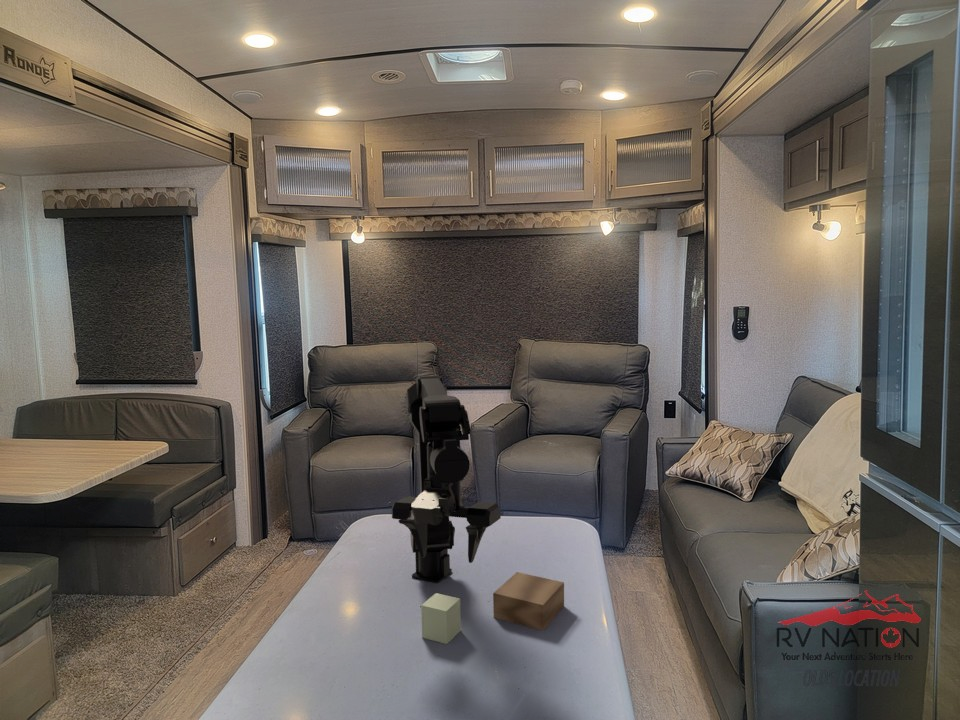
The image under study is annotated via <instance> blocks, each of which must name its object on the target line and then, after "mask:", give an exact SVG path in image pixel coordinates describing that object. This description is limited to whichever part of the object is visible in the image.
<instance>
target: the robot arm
mask: <svg viewBox="0 0 960 720" xmlns="http://www.w3.org/2000/svg"><path fill="white" fill-rule="evenodd" d="M405 409H406V414H408V415H409V421H410V423H411V425H412V426H413V428H414V429H415V431H416V433H417V443H418V468H419V487H420V489H419V494H418V495H417V496H410V495H409V496H405V497H402V498H401V499H399V500H397V501H395V502H394V503H393V504H392V505H391V506H392V507H391V518H392V519H393V520H398V523H399V524H402V525H404V526H405V527H406V528H408V530H409V532H410V545H411V546H410V547H411V550H412V553H414V554H415V572H414V573H412V574H411V577H412V579H416V580H422V581H427V582H431V583H435V584H438V583H440V582H441V581H442V580H443V579H444V578H446V577H447V576H448V575H450V574H451V573H452V572H453V568H451V566H450V565H451V564H450V563H451V560H450V554H449V553H448V550H453V547H454V546H455V535H456V534H455V533H456V527H455V526H454V524H453V522H452V520H450V517H451V518H463V519H466V522H467V523H468V525H467V526H466V527H465V530H466V532H467V535H468V539H467V558H468V563H469V564H472V563H473V562H474V561H475V558H476V555H477V551H478V548H479V546H480V543H481V540H482V537H483V535H484V533H485V531H486V529H487V528H489V527H491V526H492V525H493V524H494V523H496V522H498V521H499V520H501V517H502V516H501V515H502V514H501V507H500V506H499V505H498V503H497V502H489V501H478V502H476V503H474V504H472V505H470V506H462V505H463V504H465V497H464V496H462V484H461V483H462V481H464V480H465V479H464V478H466V476H467V475H468V473H469V470H470V465H471V464H470V459H469V457H468V455H467V453H466V452H465V451H464V450H463V449H462V447H461V441H469V439H470V438H469V435H471V431H472V429H471V424H470V420H469V419H470V418H469V414H468V411H467V410H466V407H465V406H464V404H461V401H460V398H458V397H457V396H453V395H448V389H447V386H446V385H444V384H443V378H442V376H441V375H437V374H433V375H432V374H431V375H420V376H418V377H416V381H415V383H413V384H412V385H411V386H410V387H408V388H407V389H406V397H405Z"/></svg>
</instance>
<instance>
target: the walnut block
mask: <svg viewBox="0 0 960 720" xmlns="http://www.w3.org/2000/svg"><path fill="white" fill-rule="evenodd" d="M492 595H493V596H492V598H493V603H492V604H493V605H492V606H493V618H494V619H498V620H501V619H502V620H501V621H504V620H505V621H506V622H507V623H513V624H517V625H520V626H524V627H528V628H531V629H534V630H538V631H539V630H540V631H542V632H543V631H544V630H545V629H546V628H547V627H548V626H549V625H550V623H551V622H552V621H554V619H555V618H556V616H557V615H559V613H560V612H561V611H562V609H564V607H565V582H564V581H559V580H555V579H550V578H546V577H542V576H541V577H540V576H537V575H532V574H528V573H523V572H518V571H516V572H515V573H514V574H513V575H511V576H510V578H509V579H507V580H506V581H505V582H504V583H502V585H500V586H499V587H498V588H497V589H496V590H495V591H494V592H493V594H492Z"/></svg>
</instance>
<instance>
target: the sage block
mask: <svg viewBox="0 0 960 720" xmlns="http://www.w3.org/2000/svg"><path fill="white" fill-rule="evenodd" d="M420 608H421V638H422V639H426V640H430V641H433V642H437V643H441V644H444V645H448V644H449V643H450V642H451V641H452V640H453V639H454V638H455V637H456V636H457V635H458V634H459V633H460V632H461V631H462V624H461V598H458V597H454V596H450V595H447V594H443V593H442V594H441V593H434V594H433V595H431V596H430V597H429V598H428V599H427V600H426V601H424V602H423V603H422V604H421V606H420Z"/></svg>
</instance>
